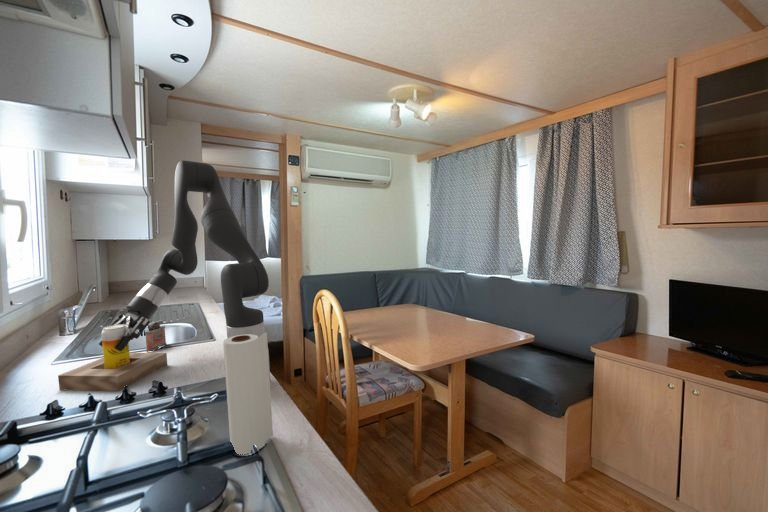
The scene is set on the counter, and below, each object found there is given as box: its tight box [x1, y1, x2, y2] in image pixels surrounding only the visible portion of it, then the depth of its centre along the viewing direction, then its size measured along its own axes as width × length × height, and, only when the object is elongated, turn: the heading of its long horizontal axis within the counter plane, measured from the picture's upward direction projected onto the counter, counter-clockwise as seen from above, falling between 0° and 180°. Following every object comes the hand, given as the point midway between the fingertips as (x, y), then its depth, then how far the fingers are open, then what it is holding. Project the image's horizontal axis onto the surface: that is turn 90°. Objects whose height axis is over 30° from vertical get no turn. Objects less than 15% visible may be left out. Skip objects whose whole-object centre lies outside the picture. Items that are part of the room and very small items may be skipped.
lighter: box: [144, 319, 167, 352], centre depth 129 cm, size 8×3×10 cm, turn 171°
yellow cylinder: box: [100, 324, 130, 369], centre depth 103 cm, size 6×6×15 cm
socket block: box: [57, 352, 168, 392], centre depth 104 cm, size 18×18×4 cm
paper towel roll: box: [222, 332, 274, 455], centre depth 66 cm, size 7×6×21 cm
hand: (109, 347), depth 102 cm, fingers open, 8 cm apart
